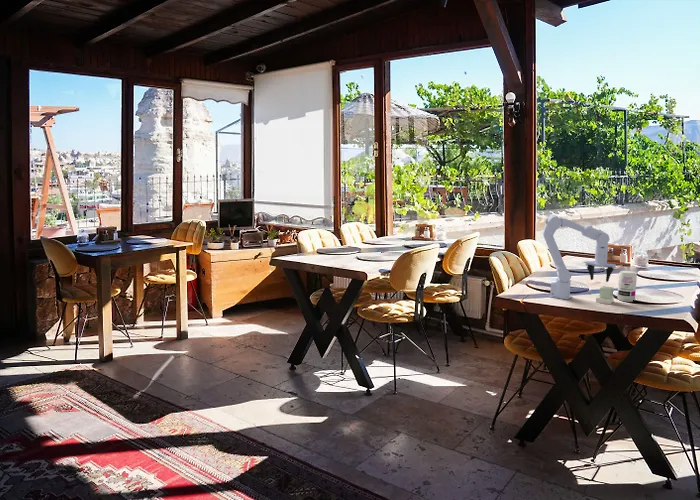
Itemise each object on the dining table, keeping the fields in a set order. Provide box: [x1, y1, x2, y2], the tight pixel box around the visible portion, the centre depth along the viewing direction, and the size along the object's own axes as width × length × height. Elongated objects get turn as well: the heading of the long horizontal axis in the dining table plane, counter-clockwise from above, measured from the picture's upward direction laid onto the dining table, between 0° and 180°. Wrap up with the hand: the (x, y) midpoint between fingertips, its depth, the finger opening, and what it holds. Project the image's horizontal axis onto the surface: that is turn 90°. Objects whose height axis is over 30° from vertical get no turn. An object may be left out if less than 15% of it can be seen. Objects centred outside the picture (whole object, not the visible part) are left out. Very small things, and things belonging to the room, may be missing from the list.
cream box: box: [595, 294, 615, 305], centre depth 295 cm, size 7×7×3 cm
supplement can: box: [616, 270, 638, 303], centre depth 297 cm, size 8×8×15 cm
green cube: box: [599, 286, 614, 299], centre depth 294 cm, size 5×5×5 cm
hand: (599, 280), depth 300 cm, fingers open, 7 cm apart
